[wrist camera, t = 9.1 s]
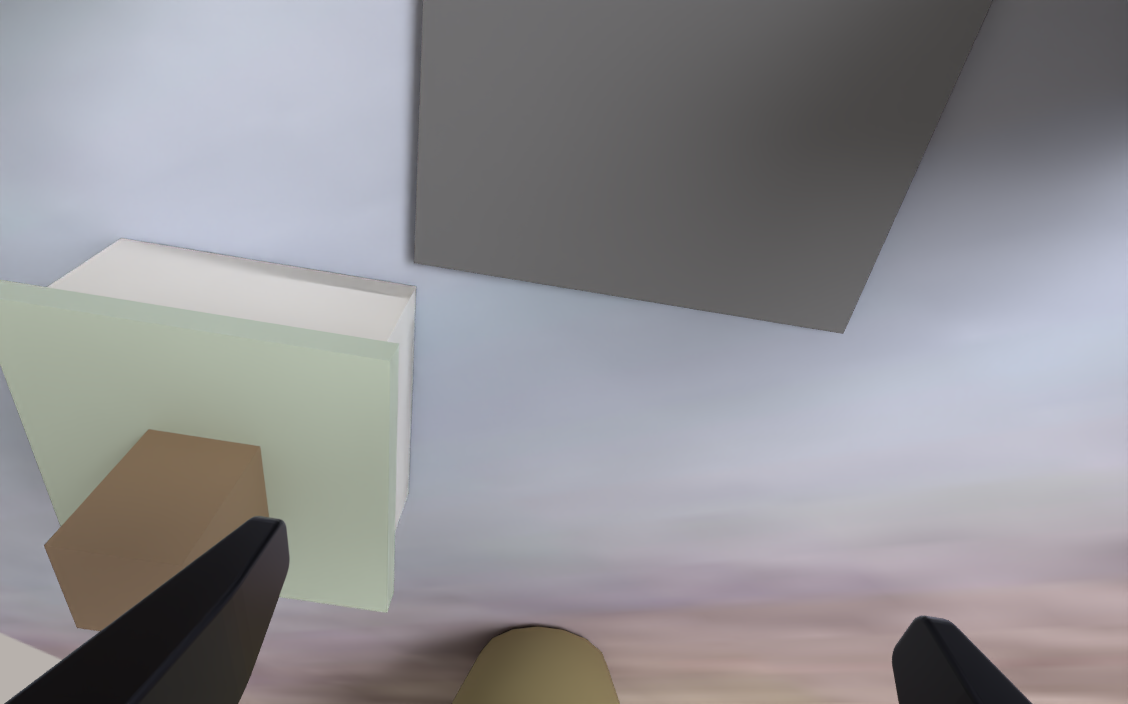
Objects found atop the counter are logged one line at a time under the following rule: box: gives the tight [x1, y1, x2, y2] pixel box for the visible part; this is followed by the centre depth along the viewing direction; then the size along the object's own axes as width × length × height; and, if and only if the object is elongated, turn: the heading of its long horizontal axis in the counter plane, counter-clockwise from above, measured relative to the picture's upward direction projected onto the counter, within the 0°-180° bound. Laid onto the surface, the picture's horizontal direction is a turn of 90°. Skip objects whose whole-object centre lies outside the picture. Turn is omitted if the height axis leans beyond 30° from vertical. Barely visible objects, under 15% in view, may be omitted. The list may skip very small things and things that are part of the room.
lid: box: [0, 280, 399, 631], centre depth 18 cm, size 10×10×5 cm
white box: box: [48, 238, 416, 531], centre depth 21 cm, size 9×9×4 cm
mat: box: [414, 0, 993, 334], centre depth 17 cm, size 13×13×1 cm
